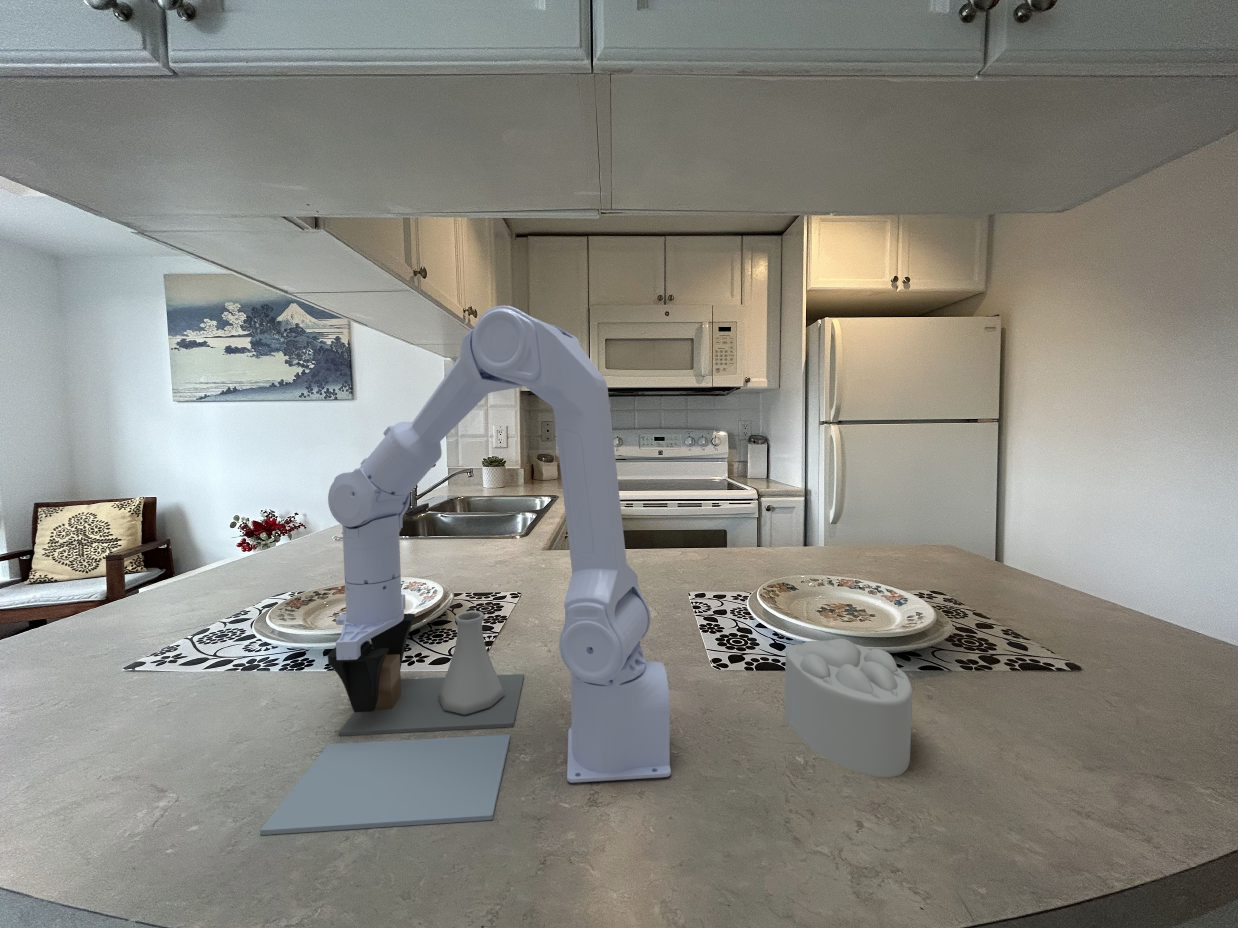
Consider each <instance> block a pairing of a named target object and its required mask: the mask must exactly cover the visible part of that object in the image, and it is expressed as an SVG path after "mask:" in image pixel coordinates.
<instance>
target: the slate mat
mask: <svg viewBox="0 0 1238 928" xmlns="http://www.w3.org/2000/svg"><path fill="white" fill-rule="evenodd" d="M510 740H511V734H496V735H495V734H494V735H476V736H473V735H472V736H458V737H436V738H420V739H402V740H396V739H395V740H382V741H379V740H378V741H377V740H376V741H363V742H362V741H361V742H360V741H359V742H344V743H340V742H339V743H328V744H327V745H326V746H325V748H324V749H323V750H322V752H320V754H319V755H318V756H317V758H316V759H315V760H314V762H313V763H312V764H311V765H310V767H309V768H308V769H307V771H306V772H305V773H304V774H303V775H302V777H301V778H300V779H299V781H297V783H296V784H295V785H294V787H293V788H292V789H291V791H289V793H288V795H287V796H286V797H285V798H284V799H283V801H282V802H281V804H280V805H279V806H278V807H277V809H276V810H275V811H274V812H273V814H272V815H271V816H270V817H269V818H268V820H267V821H266V823H265V824H263V826H262V828H261V829H260V831H259V832H260V833H259V834H260V836H267V835H283V834H284V835H285V834H298V833H299V834H300V833H311V832H312V833H314V832H330V831H345V830H347V831H348V830H360V829H362V830H363V829H374V828H375V829H377V828H389V827H392V828H393V827H403V826H408V827H409V826H422V825H435V824H452V823H453V824H454V823H465V822H466V823H467V822H480V821H481V822H483V821H492V820H493V819H494V815H495V809H496V804H497V802H498V796H499V791H500V786H501V783H502V779H503V777H502V776H503V774H504V773H503V772H504V768H505V764H506V759H507V755H508V750H509V745H510V742H511V741H510Z"/></svg>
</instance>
